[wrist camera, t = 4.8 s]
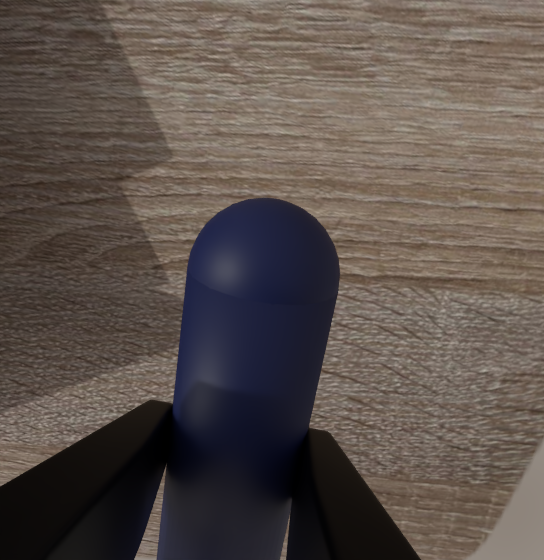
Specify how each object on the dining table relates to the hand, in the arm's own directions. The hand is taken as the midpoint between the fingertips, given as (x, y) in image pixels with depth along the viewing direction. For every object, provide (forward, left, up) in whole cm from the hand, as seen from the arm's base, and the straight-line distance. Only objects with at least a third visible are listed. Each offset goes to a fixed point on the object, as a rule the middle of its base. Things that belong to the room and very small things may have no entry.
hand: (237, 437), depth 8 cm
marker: (0, 0, -1) cm, 1 cm away
